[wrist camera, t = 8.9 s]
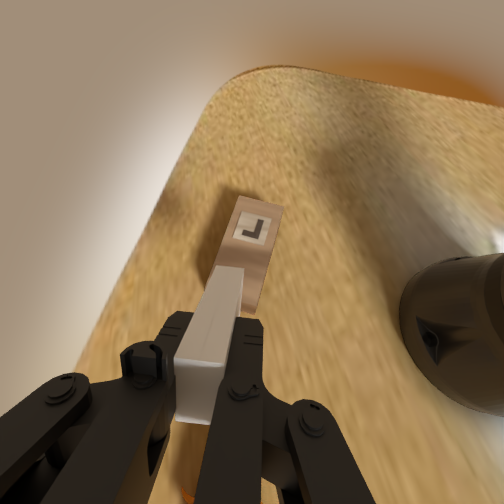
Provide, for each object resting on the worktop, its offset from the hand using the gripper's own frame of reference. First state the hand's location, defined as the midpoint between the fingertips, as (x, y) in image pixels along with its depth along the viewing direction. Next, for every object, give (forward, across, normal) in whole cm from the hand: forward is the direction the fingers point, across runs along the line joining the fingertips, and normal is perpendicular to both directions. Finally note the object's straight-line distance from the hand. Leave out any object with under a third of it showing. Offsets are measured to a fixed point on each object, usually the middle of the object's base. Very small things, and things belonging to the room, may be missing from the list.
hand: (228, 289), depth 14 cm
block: (+9, -1, -7) cm, 12 cm away
